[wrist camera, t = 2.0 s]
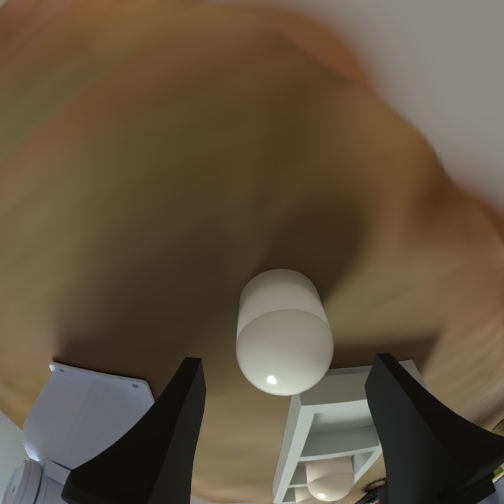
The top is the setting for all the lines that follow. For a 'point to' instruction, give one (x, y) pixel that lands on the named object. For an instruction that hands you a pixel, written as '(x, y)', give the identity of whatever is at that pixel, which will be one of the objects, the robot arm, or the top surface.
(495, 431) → the squeeze bottle
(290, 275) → the egg
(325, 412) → the egg carton
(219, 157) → the top surface
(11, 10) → the top surface
